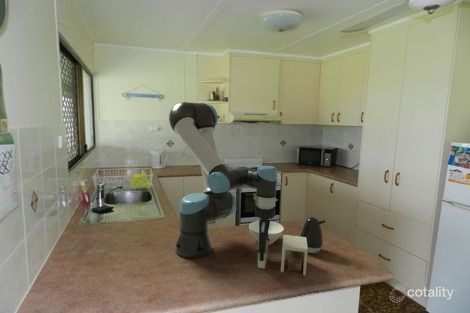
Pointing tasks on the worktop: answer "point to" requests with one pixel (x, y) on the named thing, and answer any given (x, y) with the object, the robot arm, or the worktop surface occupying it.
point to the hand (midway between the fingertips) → (262, 262)
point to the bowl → (273, 231)
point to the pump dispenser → (313, 234)
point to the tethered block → (293, 259)
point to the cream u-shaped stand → (294, 249)
